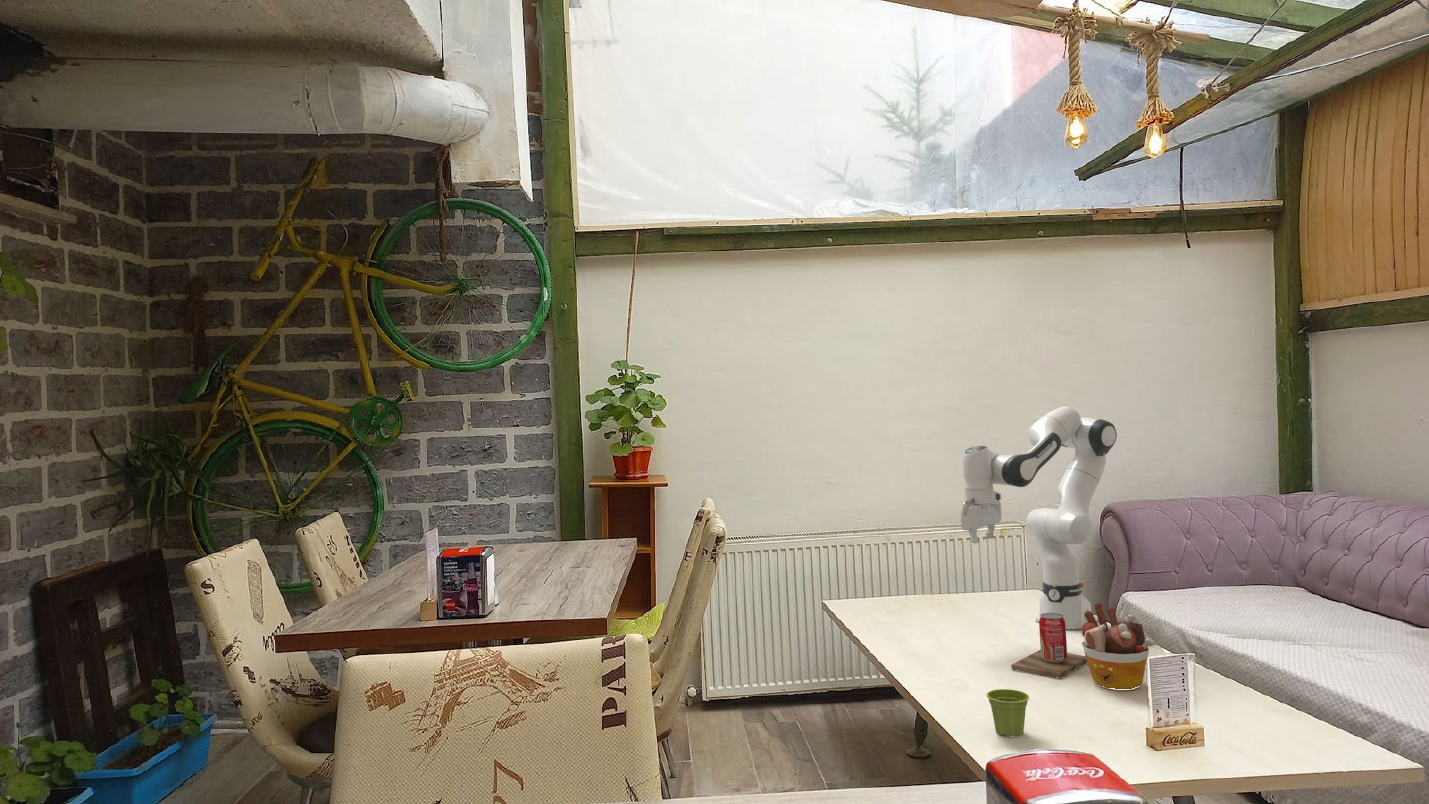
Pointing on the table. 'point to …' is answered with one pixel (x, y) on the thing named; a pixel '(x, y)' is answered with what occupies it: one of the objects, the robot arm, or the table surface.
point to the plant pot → (1008, 710)
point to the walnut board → (1049, 665)
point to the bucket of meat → (1115, 650)
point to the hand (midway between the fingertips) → (983, 540)
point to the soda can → (1053, 638)
